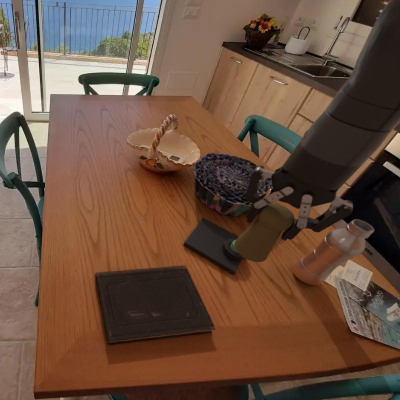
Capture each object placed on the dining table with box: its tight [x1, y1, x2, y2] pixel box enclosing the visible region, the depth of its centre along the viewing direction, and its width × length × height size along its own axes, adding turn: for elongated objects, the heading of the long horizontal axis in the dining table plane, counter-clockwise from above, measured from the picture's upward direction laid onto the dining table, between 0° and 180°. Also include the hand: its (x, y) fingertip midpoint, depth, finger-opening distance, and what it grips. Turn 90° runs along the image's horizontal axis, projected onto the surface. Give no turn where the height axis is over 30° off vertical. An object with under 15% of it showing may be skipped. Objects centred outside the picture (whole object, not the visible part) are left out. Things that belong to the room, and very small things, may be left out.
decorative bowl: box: [193, 152, 273, 217], centre depth 89 cm, size 26×28×10 cm
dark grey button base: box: [182, 217, 247, 276], centre depth 75 cm, size 15×13×3 cm
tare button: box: [230, 240, 238, 253], centre depth 71 cm, size 3×3×2 cm
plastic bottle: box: [292, 218, 375, 286], centre depth 63 cm, size 6×7×20 cm
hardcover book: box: [94, 265, 217, 346], centre depth 61 cm, size 16×23×2 cm
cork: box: [234, 202, 295, 263], centre depth 49 cm, size 6×6×11 cm
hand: (266, 228), depth 49 cm, fingers closed on cork, 5 cm apart
